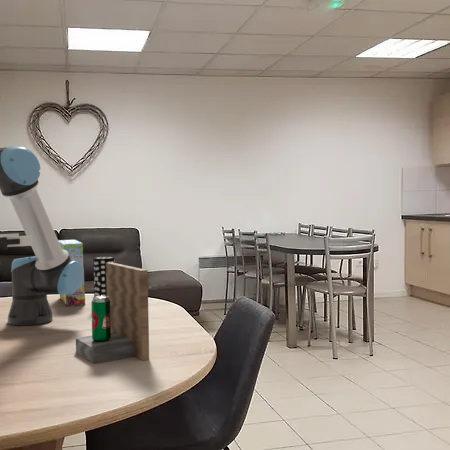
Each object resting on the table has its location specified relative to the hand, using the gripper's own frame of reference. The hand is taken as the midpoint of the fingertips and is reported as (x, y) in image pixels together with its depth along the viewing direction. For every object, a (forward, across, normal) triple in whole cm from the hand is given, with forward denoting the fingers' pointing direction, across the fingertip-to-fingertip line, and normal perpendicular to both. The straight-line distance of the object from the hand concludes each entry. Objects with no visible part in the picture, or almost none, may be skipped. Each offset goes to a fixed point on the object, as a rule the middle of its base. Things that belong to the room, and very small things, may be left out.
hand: (25, 239), depth 160 cm
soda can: (+16, +16, -28) cm, 36 cm away
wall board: (+18, +16, -32) cm, 40 cm away
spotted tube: (+43, -49, -32) cm, 73 cm away
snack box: (+37, -72, -32) cm, 87 cm away
